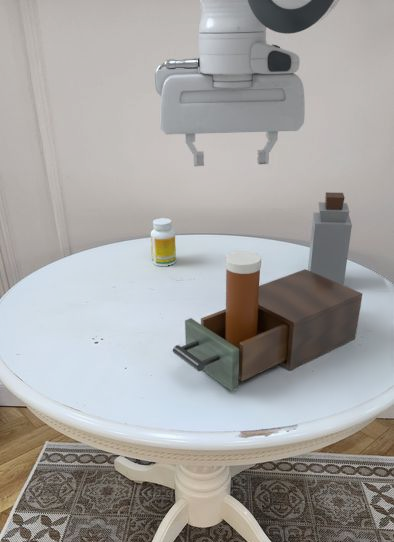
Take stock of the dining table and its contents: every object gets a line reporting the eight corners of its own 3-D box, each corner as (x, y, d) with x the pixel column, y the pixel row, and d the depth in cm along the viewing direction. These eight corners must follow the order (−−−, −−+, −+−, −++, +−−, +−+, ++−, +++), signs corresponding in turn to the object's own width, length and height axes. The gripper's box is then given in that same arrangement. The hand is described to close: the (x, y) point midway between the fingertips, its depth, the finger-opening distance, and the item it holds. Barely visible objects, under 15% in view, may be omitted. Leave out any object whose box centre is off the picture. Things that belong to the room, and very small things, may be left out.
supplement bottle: (147, 262, 120) (144, 220, 115) (166, 256, 123) (164, 215, 118) (161, 269, 117) (159, 226, 112) (181, 262, 120) (179, 221, 115)
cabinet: (289, 371, 83) (294, 322, 78) (237, 338, 91) (238, 293, 87) (355, 339, 90) (362, 293, 86) (301, 311, 99) (305, 268, 94)
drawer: (209, 402, 75) (208, 361, 71) (164, 366, 83) (161, 328, 79) (302, 357, 84) (306, 319, 81) (254, 329, 92) (255, 293, 88)
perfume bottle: (307, 275, 113) (315, 189, 103) (339, 276, 112) (351, 190, 102) (308, 288, 107) (317, 199, 98) (342, 290, 106) (355, 200, 97)
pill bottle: (263, 354, 83) (268, 258, 75) (238, 365, 81) (241, 267, 72) (242, 341, 86) (245, 248, 78) (218, 351, 84) (218, 256, 75)
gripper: (152, 61, 68) (159, 171, 76) (311, 57, 68) (303, 167, 76) (155, 58, 74) (161, 161, 81) (302, 54, 74) (295, 157, 81)
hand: (230, 164), depth 78 cm, fingers open, 8 cm apart
